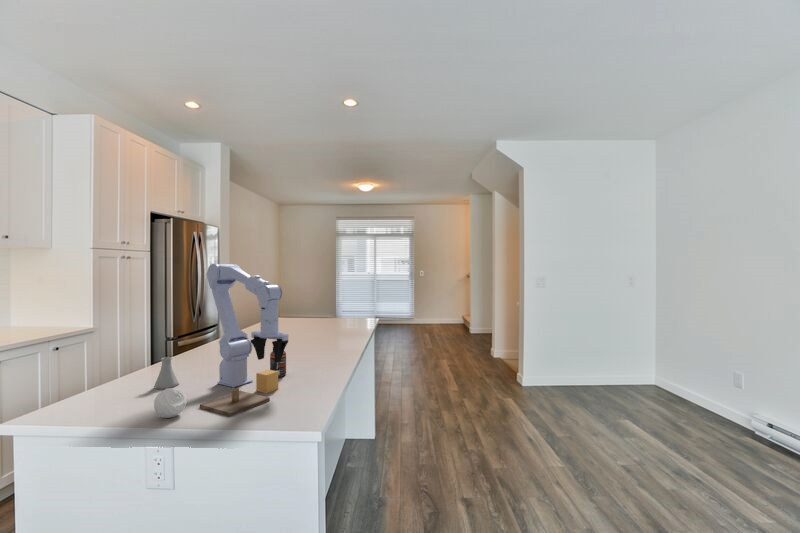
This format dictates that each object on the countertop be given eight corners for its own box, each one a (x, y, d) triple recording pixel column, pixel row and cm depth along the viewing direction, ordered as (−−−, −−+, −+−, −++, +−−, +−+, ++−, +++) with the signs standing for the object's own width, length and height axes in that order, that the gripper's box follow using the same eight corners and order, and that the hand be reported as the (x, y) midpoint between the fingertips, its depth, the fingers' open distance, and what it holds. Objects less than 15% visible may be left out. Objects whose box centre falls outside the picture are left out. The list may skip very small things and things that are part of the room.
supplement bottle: (281, 378, 140) (281, 348, 141) (266, 377, 142) (266, 347, 142) (289, 373, 146) (288, 345, 146) (275, 373, 148) (275, 344, 148)
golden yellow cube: (256, 390, 126) (256, 373, 126) (268, 386, 130) (268, 369, 130) (266, 393, 124) (266, 375, 124) (278, 388, 128) (278, 371, 128)
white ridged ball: (168, 423, 100) (168, 394, 100) (146, 420, 102) (146, 392, 102) (192, 412, 107) (192, 385, 107) (171, 410, 109) (171, 383, 109)
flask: (149, 388, 130) (149, 359, 130) (169, 382, 136) (169, 355, 136) (163, 390, 127) (163, 361, 127) (183, 384, 134) (183, 356, 134)
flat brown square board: (199, 407, 111) (199, 392, 111) (240, 393, 123) (239, 380, 123) (230, 416, 104) (230, 400, 104) (269, 400, 116) (269, 386, 116)
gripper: (244, 320, 126) (244, 360, 126) (277, 323, 120) (277, 365, 120) (259, 317, 132) (259, 356, 132) (292, 320, 126) (292, 360, 126)
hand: (269, 360), depth 126 cm, fingers open, 7 cm apart
